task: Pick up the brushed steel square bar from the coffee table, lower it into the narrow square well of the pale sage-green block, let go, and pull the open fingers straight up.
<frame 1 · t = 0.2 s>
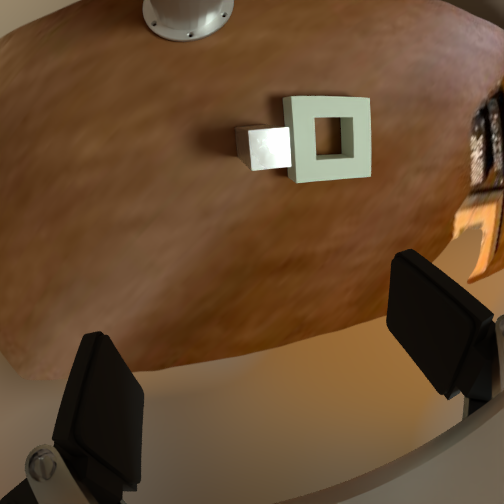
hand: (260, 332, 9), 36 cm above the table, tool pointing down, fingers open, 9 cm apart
steel bar: (251, 140, 40), on the table
well block: (323, 135, 42), on the table
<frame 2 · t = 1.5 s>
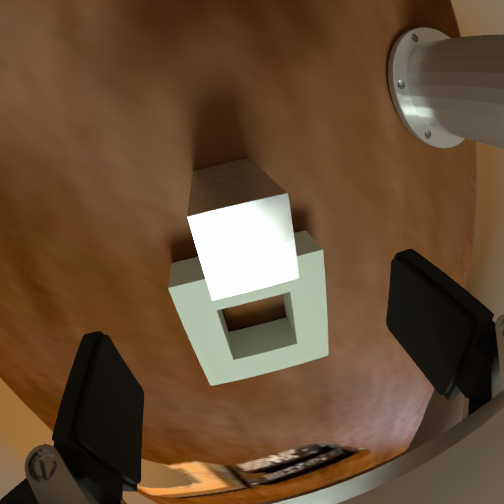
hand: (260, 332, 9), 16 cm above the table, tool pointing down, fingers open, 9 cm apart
steel bar: (226, 190, 23), on the table
well block: (252, 301, 28), on the table
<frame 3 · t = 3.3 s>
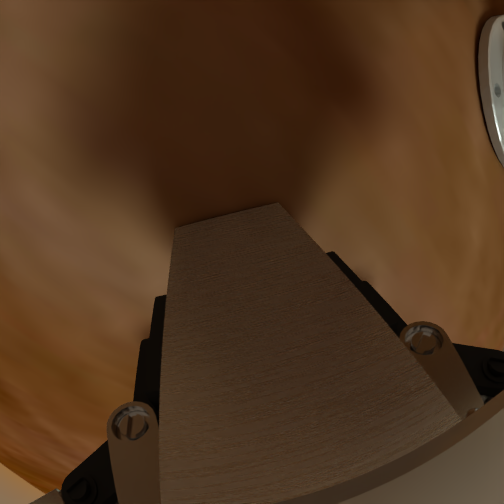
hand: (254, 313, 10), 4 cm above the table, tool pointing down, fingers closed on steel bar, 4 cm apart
steel bar: (237, 261, 13), on the table, touching gripper
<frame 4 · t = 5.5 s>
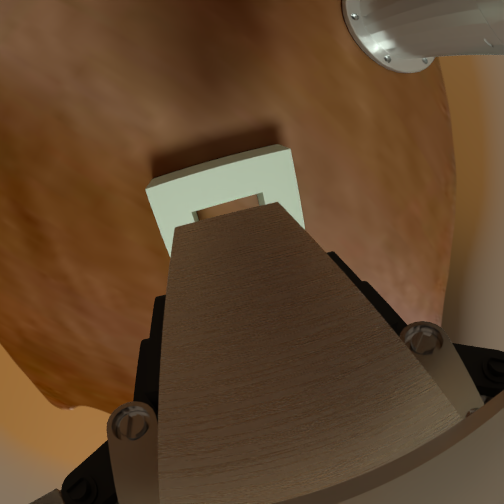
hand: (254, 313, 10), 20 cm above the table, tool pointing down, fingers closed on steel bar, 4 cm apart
steel bar: (237, 260, 13), point 16 cm above the table, touching gripper
well block: (230, 218, 29), on the table
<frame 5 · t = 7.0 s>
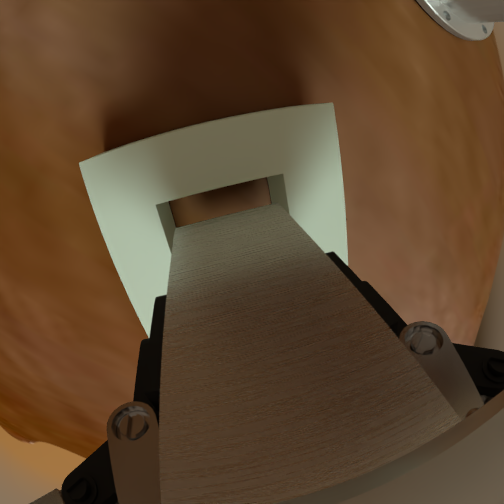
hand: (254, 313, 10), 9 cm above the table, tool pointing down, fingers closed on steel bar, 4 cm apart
steel bar: (237, 261, 13), point 6 cm above the table, touching gripper
well block: (224, 219, 18), on the table
when the fingers open (5 cm above the table, at t = 8.2 s): steel bar drops 1 cm, resting in well block.
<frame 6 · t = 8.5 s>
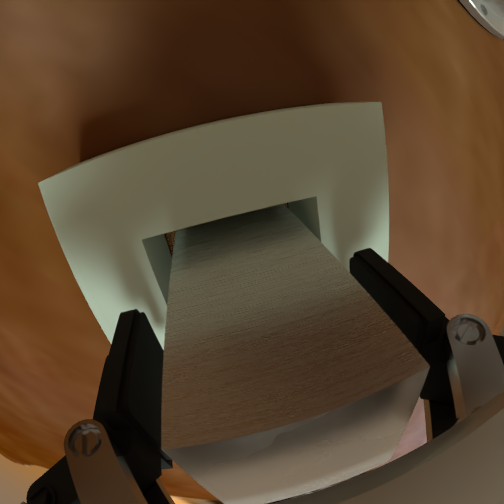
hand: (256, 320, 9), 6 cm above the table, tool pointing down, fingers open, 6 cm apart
steel bar: (234, 245, 15), resting in well block
well block: (233, 247, 15), on the table
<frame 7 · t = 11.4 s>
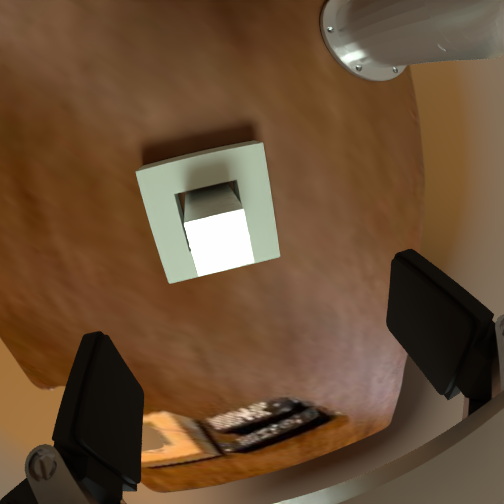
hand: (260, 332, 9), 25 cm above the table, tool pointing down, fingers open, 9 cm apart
steel bar: (210, 204, 32), resting in well block
well block: (209, 205, 32), on the table
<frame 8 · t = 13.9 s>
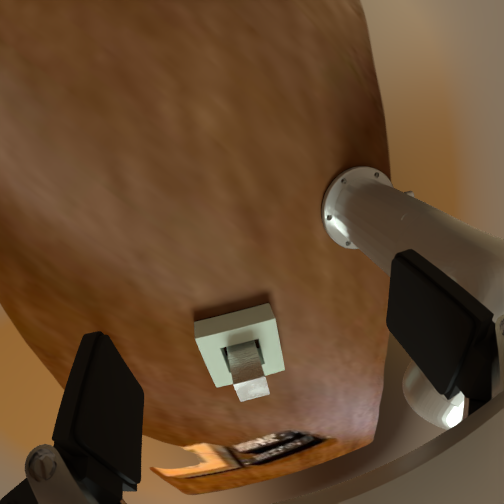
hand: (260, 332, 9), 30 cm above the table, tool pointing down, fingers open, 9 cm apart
steel bar: (240, 339, 48), resting in well block
well block: (239, 340, 48), on the table
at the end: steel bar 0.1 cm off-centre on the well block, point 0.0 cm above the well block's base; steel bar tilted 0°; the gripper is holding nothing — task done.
